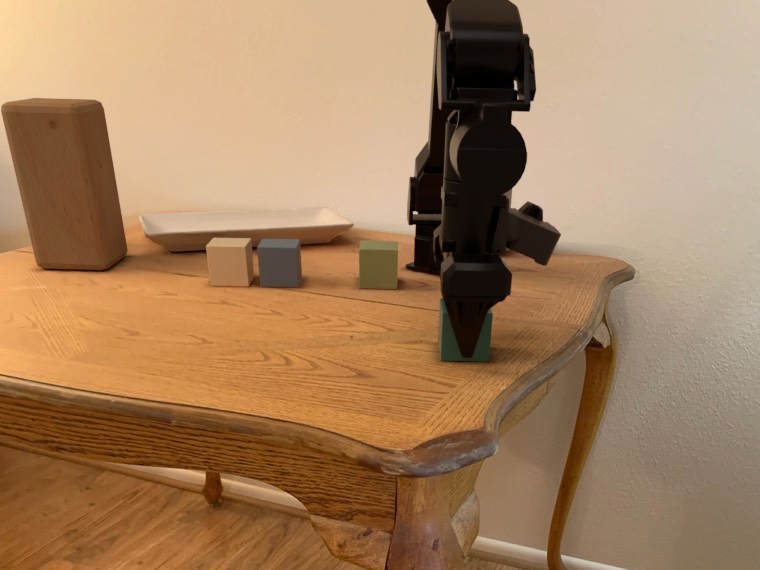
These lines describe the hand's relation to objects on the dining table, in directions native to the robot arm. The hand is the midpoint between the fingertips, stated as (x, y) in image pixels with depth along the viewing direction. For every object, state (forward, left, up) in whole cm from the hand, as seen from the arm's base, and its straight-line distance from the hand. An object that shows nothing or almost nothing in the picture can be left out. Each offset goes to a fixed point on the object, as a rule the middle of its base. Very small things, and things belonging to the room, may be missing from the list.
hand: (463, 342), depth 80 cm
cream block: (-4, -39, -1) cm, 39 cm away
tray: (-23, -55, -1) cm, 60 cm away
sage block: (-16, -23, -1) cm, 28 cm away
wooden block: (+2, -62, -1) cm, 62 cm away
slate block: (-8, -34, -1) cm, 35 cm away
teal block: (0, 0, -1) cm, 1 cm away
